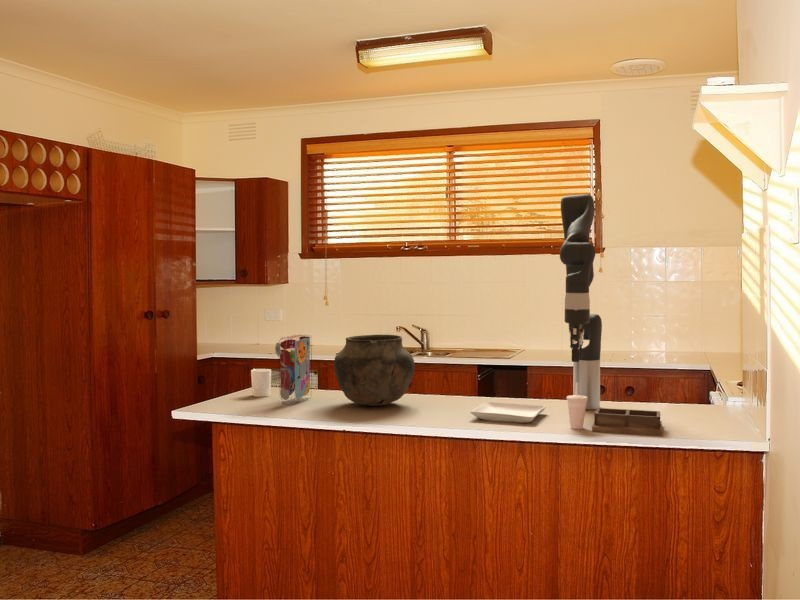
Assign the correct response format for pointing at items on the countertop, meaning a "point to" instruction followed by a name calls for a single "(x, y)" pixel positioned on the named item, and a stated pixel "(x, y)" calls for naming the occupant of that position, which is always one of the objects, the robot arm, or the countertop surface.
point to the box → (299, 375)
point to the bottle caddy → (627, 421)
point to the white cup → (261, 382)
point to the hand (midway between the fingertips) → (576, 360)
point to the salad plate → (507, 412)
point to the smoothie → (576, 409)
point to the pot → (374, 369)
